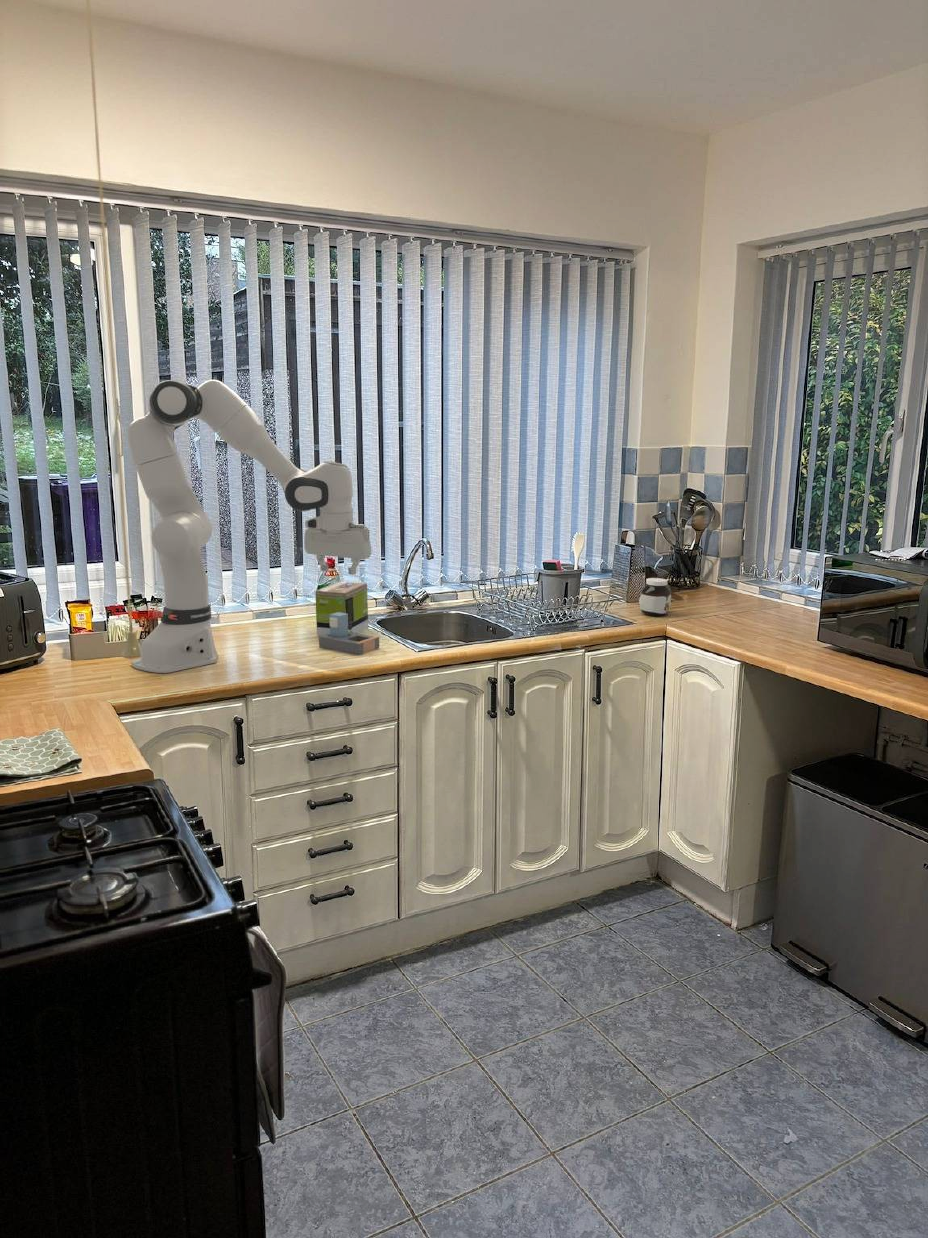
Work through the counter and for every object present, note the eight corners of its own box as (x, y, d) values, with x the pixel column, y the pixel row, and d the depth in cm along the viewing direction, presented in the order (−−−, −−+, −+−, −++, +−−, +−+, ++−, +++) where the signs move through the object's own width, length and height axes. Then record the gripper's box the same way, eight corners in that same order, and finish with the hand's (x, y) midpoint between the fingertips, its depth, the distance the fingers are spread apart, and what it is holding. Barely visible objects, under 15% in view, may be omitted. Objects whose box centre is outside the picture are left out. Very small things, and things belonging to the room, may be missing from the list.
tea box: (339, 627, 284) (338, 580, 281) (369, 631, 281) (368, 582, 278) (315, 639, 271) (314, 589, 267) (346, 642, 267) (346, 592, 264)
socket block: (358, 658, 251) (358, 643, 250) (319, 650, 258) (318, 635, 257) (379, 651, 258) (379, 636, 258) (340, 643, 266) (339, 629, 265)
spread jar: (655, 618, 303) (657, 583, 300) (627, 612, 311) (629, 578, 308) (676, 613, 311) (679, 579, 308) (649, 607, 319) (651, 574, 316)
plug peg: (338, 648, 257) (337, 616, 255) (328, 646, 259) (328, 614, 257) (348, 645, 261) (347, 613, 258) (338, 643, 262) (338, 612, 260)
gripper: (375, 523, 250) (376, 574, 253) (314, 518, 260) (315, 567, 263) (361, 526, 245) (362, 578, 248) (300, 521, 254) (301, 570, 258)
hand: (338, 572), depth 255 cm, fingers open, 8 cm apart
